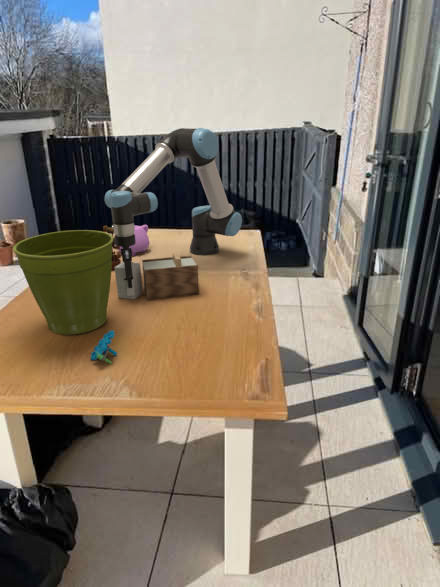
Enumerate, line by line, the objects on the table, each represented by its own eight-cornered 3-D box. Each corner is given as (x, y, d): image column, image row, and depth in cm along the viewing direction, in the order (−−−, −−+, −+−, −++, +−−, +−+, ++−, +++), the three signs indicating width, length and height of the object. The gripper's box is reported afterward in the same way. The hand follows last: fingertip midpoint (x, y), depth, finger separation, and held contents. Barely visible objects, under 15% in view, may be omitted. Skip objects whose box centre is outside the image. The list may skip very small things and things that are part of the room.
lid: (192, 260, 173) (191, 250, 171) (197, 268, 163) (197, 258, 161) (142, 264, 168) (141, 254, 166) (145, 273, 158) (144, 263, 157)
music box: (126, 263, 203) (121, 222, 193) (122, 272, 193) (117, 230, 184) (94, 263, 202) (88, 223, 193) (89, 273, 192) (82, 231, 183)
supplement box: (143, 292, 168) (140, 262, 163) (134, 300, 161) (131, 268, 157) (127, 290, 170) (124, 260, 165) (117, 297, 164) (113, 266, 159)
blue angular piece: (93, 342, 128) (113, 322, 124) (109, 353, 130) (129, 334, 126) (83, 366, 118) (105, 346, 115) (101, 377, 120) (123, 357, 117)
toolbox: (192, 282, 178) (191, 255, 173) (198, 294, 166) (197, 265, 161) (144, 287, 173) (142, 259, 168) (147, 299, 161) (145, 270, 157)
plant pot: (116, 300, 161) (107, 226, 150) (128, 335, 135) (119, 249, 124) (32, 312, 152) (16, 234, 141) (28, 352, 126) (8, 260, 115)
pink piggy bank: (133, 243, 234) (130, 216, 228) (159, 249, 223) (157, 221, 218) (105, 252, 220) (102, 223, 214) (132, 259, 209) (129, 229, 203)
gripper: (113, 228, 165) (119, 281, 174) (115, 243, 145) (121, 302, 154) (132, 226, 167) (137, 279, 176) (137, 241, 147) (142, 300, 156)
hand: (130, 290), depth 165 cm, fingers closed on supplement box, 10 cm apart
